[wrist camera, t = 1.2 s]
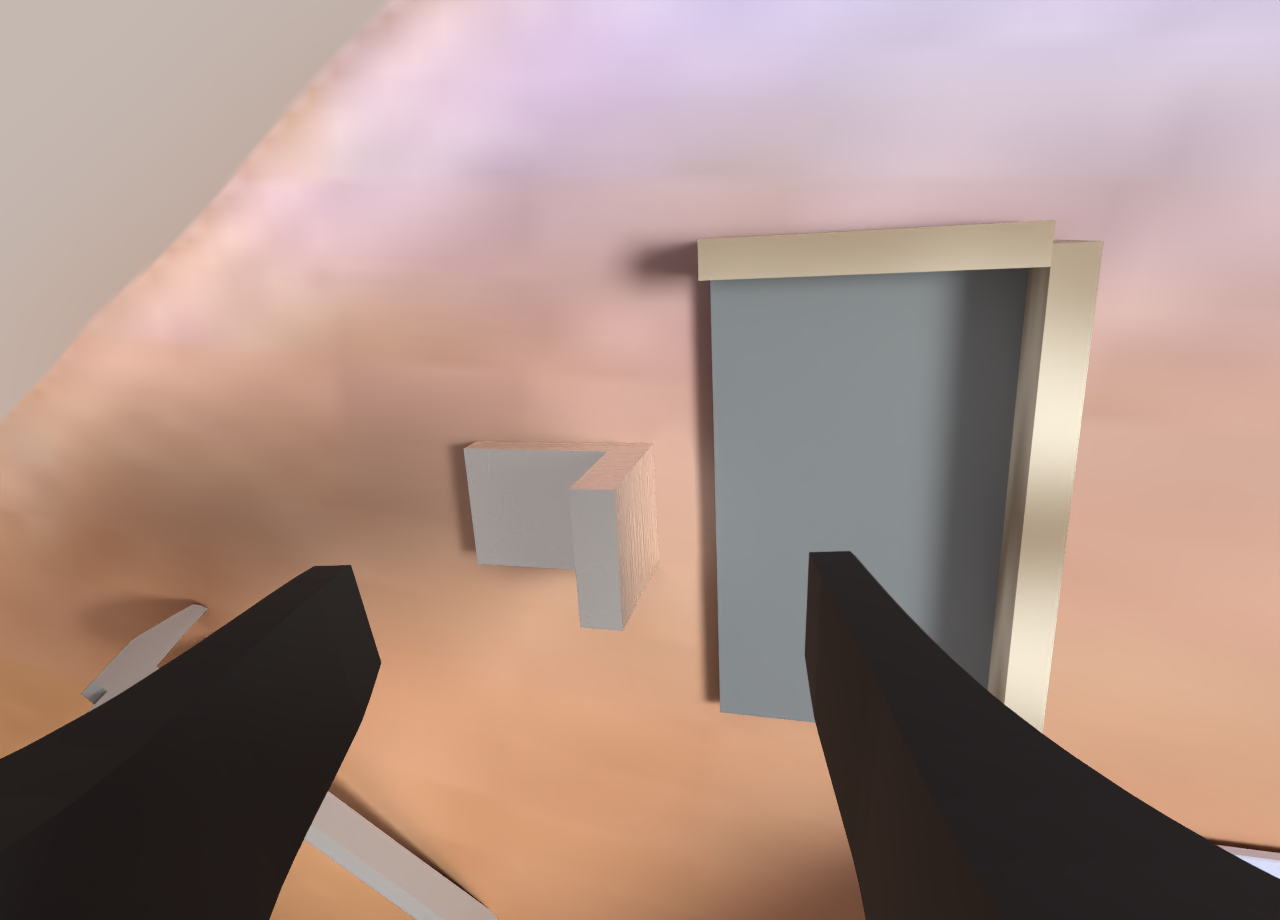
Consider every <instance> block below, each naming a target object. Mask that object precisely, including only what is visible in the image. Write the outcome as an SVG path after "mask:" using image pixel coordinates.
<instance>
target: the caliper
mask: <svg viewBox="0 0 1280 920" xmlns="http://www.w3.org/2000/svg"><path fill="white" fill-rule="evenodd" d="M206 610H207V608H205V607H203V606H202V605H195V604H192V605H191V606H189V607H187V608H185V609H183V610H181V611H179V612H178V613H176V614H174V615H172V616H171V617H169V618H167V619H166V620H164V621H162V622H161V623H159V624H157V625H156V626H154V627H152V628H151V629H149V630H147V631H145V632H144V633H142V634H140V635H139V636H137V637H135V638H134V639H132V640H131V641H130V642H129V643H128V644H127V645H126V646H125V647H124V649H123V650H122V651H121V652H120V653H119V654H118V655H117V656H116V657H115V658H114V659H113V660H112V661H111V662H110V663H109V664H108V666H107V667H106V668H105V669H104V670H103V671H102V672H101V673H100V674H99V675H98V676H97V677H96V678H95V679H94V681H93V682H92V683H91V684H90V685H89V686H88V687H87V688H86V689H85V690H84V691H83V693H82V695H83V696H85V697H86V698H87V699H88V700H90V701H91V702H92V703H93V704H95V705H94V706H93V707H92V708H91V709H90V710H89V711H88V712H90V711H91V710H93V709H95V708H96V707H98V706H100V705H102V704H103V703H105V702H107V701H108V700H110V699H112V698H113V697H115V696H117V695H118V694H120V693H122V692H123V691H125V690H127V689H128V688H130V687H131V686H133V685H134V684H136V683H138V682H139V681H141V680H142V679H144V678H145V677H147V676H148V675H150V674H152V673H153V672H155V671H156V670H158V669H159V668H158V667H157V665H158V664H159V662H160V661H161V660H162V659H163V658H164V657H165V656H166V654H167V653H168V652H169V651H170V650H171V649H172V648H173V647H174V645H175V644H176V643H177V642H178V641H179V640H180V639H181V637H182V636H183V635H184V634H185V633H186V632H187V631H188V630H189V628H190V627H191V626H192V625H193V624H194V623H195V622H196V621H197V620H198V619H199V618H200V617H201V616H202V615H203V614H204V612H205V611H206ZM88 712H87V713H88ZM304 840H306V841H307V842H308V843H310V844H311V845H313V846H314V847H315V848H317V849H318V850H320V851H321V852H322V853H324V854H325V855H327V856H328V857H329V858H331V859H332V860H334V861H335V862H336V863H338V864H339V865H341V866H342V867H343V868H345V869H346V870H348V871H349V872H350V873H352V874H353V875H355V876H356V877H357V878H359V879H360V880H362V881H363V882H364V883H366V884H367V885H369V886H370V887H371V888H373V889H374V890H376V891H377V892H378V893H380V894H381V895H383V896H384V897H385V898H387V899H388V900H390V901H391V902H392V903H394V904H395V905H396V906H398V907H399V908H401V909H402V910H403V911H405V912H406V913H408V914H409V915H410V916H412V917H413V918H415V919H416V920H499V919H498V918H497V917H496V916H495V915H494V914H493V913H492V912H491V911H490V910H489V909H488V908H487V907H485V906H484V905H482V904H481V903H480V902H478V901H477V900H476V899H474V898H473V897H471V896H470V895H469V894H467V893H466V892H465V891H463V890H462V889H460V888H459V887H458V886H456V885H455V884H454V883H452V882H451V881H449V880H448V879H447V878H445V877H444V876H443V875H441V874H440V873H438V872H437V871H436V870H434V869H433V868H432V867H430V866H429V865H428V864H426V863H425V862H423V861H422V860H421V859H419V858H418V857H417V856H415V855H414V854H412V853H411V852H410V851H408V850H407V849H406V848H404V847H403V846H401V845H400V844H399V843H397V842H396V841H395V840H393V839H392V838H391V837H389V836H388V835H387V834H385V833H384V832H383V831H381V830H380V829H378V828H377V827H376V826H374V825H373V824H372V823H370V822H369V821H368V820H366V819H365V818H364V817H362V816H361V815H360V814H358V813H357V812H356V811H354V810H353V809H352V808H350V807H349V806H348V805H346V804H345V803H344V802H342V801H341V800H339V799H338V798H337V797H335V796H334V795H333V794H331V793H330V792H329V791H328V792H327V794H326V796H325V798H324V800H323V802H322V804H321V806H320V808H319V810H318V812H317V814H316V816H315V818H314V820H313V822H312V824H311V826H310V828H309V830H308V832H307V834H306V836H305V838H304Z"/></svg>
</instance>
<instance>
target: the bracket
mask: <svg viewBox="0 0 1280 920" xmlns="http://www.w3.org/2000/svg"><path fill="white" fill-rule="evenodd" d="M464 457H465V465H466V473H467V482H468V490H469V498H470V506H471V514H472V522H473V530H474V538H475V546H476V554H477V562H478V564H490V565H506V566H522V567H538V568H554V569H570V570H576V579H577V591H578V604H579V616H580V627H583V628H595V629H608V630H620V631H623V629H624V627H625V625H626V624H627V622H628V620H629V618H630V616H631V614H632V612H633V610H634V608H635V606H636V605H637V603H638V601H639V599H640V597H641V595H642V593H643V591H644V589H645V587H646V586H647V584H648V582H649V580H650V578H651V576H652V574H653V572H654V570H655V568H656V566H657V565H658V563H659V553H658V532H657V512H656V491H655V470H654V449H653V444H637V443H576V442H515V441H476V442H474V443H472V444H471V445H469V446H467V447H465V448H464Z"/></svg>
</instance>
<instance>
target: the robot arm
mask: <svg viewBox="0 0 1280 920" xmlns="http://www.w3.org/2000/svg"><path fill="white" fill-rule="evenodd" d="M805 662H806V669H807V675H808V682H809V689H810V695H811V701H812V708H813V714H814V719H815V722H816V726H817V730H818V734H819V737H820V741H821V745H822V748H823V752H824V756H825V759H826V763H827V767H828V770H829V774H830V777H831V781H832V785H833V788H834V792H835V795H836V799H837V803H838V806H839V810H840V813H841V817H842V821H843V824H844V828H845V831H846V835H847V839H848V842H849V846H850V849H851V853H852V857H853V861H854V865H855V869H856V873H857V878H858V882H859V886H860V891H861V896H862V901H863V907H864V912H865V918H866V920H1280V853H1275V852H1267V851H1260V850H1252V849H1244V848H1237V847H1229V846H1221V845H1216V844H1214V843H1212V842H1211V841H1209V840H1207V839H1205V838H1204V837H1202V836H1200V835H1198V834H1197V833H1195V832H1193V831H1192V830H1190V829H1188V828H1186V827H1185V826H1183V825H1181V824H1179V823H1178V822H1176V821H1174V820H1172V819H1171V818H1169V817H1167V816H1166V815H1164V814H1162V813H1161V812H1159V811H1158V810H1156V809H1154V808H1153V807H1151V806H1149V805H1148V804H1146V803H1145V802H1143V801H1141V800H1140V799H1138V798H1136V797H1135V796H1133V795H1132V794H1130V793H1128V792H1127V791H1125V790H1124V789H1122V788H1121V787H1119V786H1118V785H1116V784H1115V783H1113V782H1112V781H1110V780H1109V779H1107V778H1106V777H1104V776H1103V775H1101V774H1100V773H1098V772H1097V771H1095V770H1094V769H1092V768H1091V767H1089V766H1088V765H1086V764H1085V763H1083V762H1082V761H1080V760H1079V759H1077V758H1076V757H1074V756H1073V755H1071V754H1070V753H1069V752H1067V751H1066V750H1064V749H1063V748H1062V747H1060V746H1059V745H1057V744H1056V743H1055V742H1053V741H1052V740H1050V739H1049V738H1048V737H1046V736H1045V735H1044V734H1042V733H1041V732H1040V731H1038V730H1037V729H1036V728H1034V727H1033V726H1032V725H1031V724H1029V723H1028V722H1027V721H1025V720H1024V719H1023V718H1022V717H1020V716H1019V715H1018V714H1016V713H1015V712H1014V711H1012V710H1011V709H1010V708H1009V707H1007V706H1006V705H1005V704H1003V703H1002V702H1001V701H1000V700H999V699H997V698H996V697H995V696H994V695H992V694H991V693H990V692H989V691H988V690H987V689H985V688H984V687H983V686H982V685H981V684H980V683H979V682H977V681H976V680H975V679H974V678H973V677H972V676H971V675H970V674H969V673H967V672H966V671H965V670H964V669H963V668H962V667H961V666H960V665H959V664H957V663H956V662H955V661H954V660H953V659H952V658H951V657H950V656H949V655H948V654H947V653H946V652H945V651H944V650H943V649H942V648H941V647H940V646H939V645H938V644H937V643H936V642H935V641H934V640H933V639H932V638H931V637H930V636H929V635H928V634H927V633H926V632H925V631H924V630H923V629H922V628H921V627H920V626H919V625H918V624H917V623H916V622H915V621H914V620H913V619H912V618H911V617H910V616H909V615H908V614H907V613H906V612H905V611H904V610H903V609H902V608H901V607H900V605H899V604H898V603H897V602H896V601H895V600H894V599H893V598H892V597H891V596H890V595H889V593H888V592H887V591H886V590H885V589H884V588H883V587H882V586H881V585H880V583H879V582H878V581H877V580H876V579H875V578H874V577H873V575H872V574H871V573H870V572H869V571H868V570H867V569H866V567H865V566H864V565H863V564H862V563H861V562H860V560H859V559H858V558H857V557H856V556H855V555H854V554H853V553H852V552H851V551H832V552H809V565H808V588H807V611H806V634H805ZM380 665H381V660H380V657H379V654H378V651H377V647H376V644H375V641H374V638H373V635H372V631H371V628H370V625H369V622H368V618H367V615H366V612H365V609H364V606H363V602H362V599H361V596H360V593H359V589H358V586H357V583H356V580H355V576H354V573H353V570H352V567H351V565H339V566H314V567H312V568H311V569H309V570H307V571H305V572H304V573H302V574H300V575H299V576H297V577H295V578H294V579H292V580H291V581H289V582H288V583H286V584H285V585H283V586H282V587H280V588H279V589H277V590H276V591H274V592H273V593H271V594H270V595H268V596H267V597H265V598H264V599H262V600H261V601H259V602H258V603H256V604H255V605H254V606H252V607H251V608H249V609H248V610H246V611H245V612H243V613H242V614H241V615H239V616H238V617H236V618H235V619H233V620H232V621H230V622H229V623H227V624H226V625H224V626H223V627H222V628H220V629H219V630H217V631H216V632H214V633H213V634H211V635H210V636H208V637H207V638H205V639H204V640H202V641H201V642H200V643H198V644H197V645H195V646H194V647H192V648H191V649H189V650H188V651H186V652H184V653H183V654H181V655H180V656H178V657H177V658H175V659H173V660H172V661H170V662H169V663H167V664H166V665H164V666H163V667H161V668H159V669H158V670H156V671H155V672H153V673H152V674H150V675H148V676H147V677H145V678H144V679H142V680H141V681H139V682H138V683H136V684H134V685H133V686H131V687H130V688H128V689H127V690H125V691H123V692H122V693H120V694H118V695H117V696H115V697H113V698H112V699H110V700H108V701H107V702H105V703H103V704H102V705H100V706H98V707H96V708H95V709H93V710H91V711H90V712H88V713H86V714H84V715H83V716H81V717H79V718H77V719H75V720H74V721H72V722H70V723H68V724H66V725H65V726H63V727H61V728H59V729H57V730H55V731H54V732H52V733H50V734H48V735H46V736H45V737H43V738H41V739H39V740H37V741H35V742H33V743H31V744H29V745H28V746H26V747H24V748H22V749H20V750H18V751H16V752H14V753H12V754H10V755H8V756H5V757H3V758H1V759H0V920H269V919H270V916H271V914H272V911H273V908H274V906H275V903H276V901H277V898H278V895H279V893H280V890H281V888H282V885H283V883H284V881H285V879H286V876H287V874H288V872H289V870H290V868H291V865H292V863H293V861H294V859H295V856H296V854H297V852H298V850H299V848H300V846H301V844H302V842H303V840H304V838H305V836H306V834H307V832H308V830H309V828H310V826H311V824H312V822H313V820H314V818H315V816H316V814H317V812H318V810H319V808H320V806H321V804H322V802H323V800H324V798H325V796H326V794H327V792H328V790H329V788H330V786H331V784H332V782H333V780H334V778H335V776H336V774H337V772H338V770H339V768H340V766H341V764H342V762H343V760H344V758H345V756H346V753H347V751H348V749H349V747H350V745H351V743H352V741H353V739H354V737H355V735H356V733H357V731H358V728H359V726H360V724H361V722H362V720H363V717H364V714H365V711H366V708H367V705H368V703H369V700H370V697H371V694H372V691H373V688H374V684H375V681H376V678H377V675H378V672H379V668H380Z"/></svg>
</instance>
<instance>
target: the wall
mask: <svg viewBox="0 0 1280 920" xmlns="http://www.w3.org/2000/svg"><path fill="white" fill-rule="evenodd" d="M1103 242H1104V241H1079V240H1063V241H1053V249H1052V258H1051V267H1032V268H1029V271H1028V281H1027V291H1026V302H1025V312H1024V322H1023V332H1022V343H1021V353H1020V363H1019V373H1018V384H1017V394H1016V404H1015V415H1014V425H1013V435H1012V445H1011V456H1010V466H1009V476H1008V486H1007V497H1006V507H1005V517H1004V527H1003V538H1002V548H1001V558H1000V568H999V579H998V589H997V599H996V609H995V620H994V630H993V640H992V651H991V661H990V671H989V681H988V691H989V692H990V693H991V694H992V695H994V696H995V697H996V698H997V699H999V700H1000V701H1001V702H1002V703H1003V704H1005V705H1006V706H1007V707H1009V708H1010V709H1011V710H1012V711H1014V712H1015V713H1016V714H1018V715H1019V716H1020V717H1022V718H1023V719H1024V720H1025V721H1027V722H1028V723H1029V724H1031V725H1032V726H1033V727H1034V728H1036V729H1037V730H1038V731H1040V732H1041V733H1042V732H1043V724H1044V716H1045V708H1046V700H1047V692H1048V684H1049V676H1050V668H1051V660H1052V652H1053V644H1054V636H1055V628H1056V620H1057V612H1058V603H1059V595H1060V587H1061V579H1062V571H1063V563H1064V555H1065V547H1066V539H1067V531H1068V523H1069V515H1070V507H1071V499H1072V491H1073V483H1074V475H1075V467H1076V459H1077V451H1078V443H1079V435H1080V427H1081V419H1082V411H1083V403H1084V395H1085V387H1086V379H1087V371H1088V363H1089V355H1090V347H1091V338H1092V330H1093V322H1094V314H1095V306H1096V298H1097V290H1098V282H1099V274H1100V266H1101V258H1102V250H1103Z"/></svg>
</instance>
